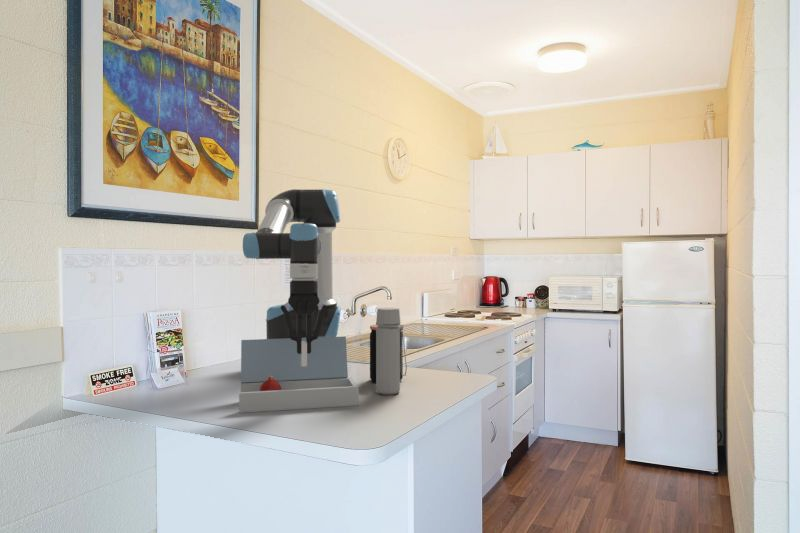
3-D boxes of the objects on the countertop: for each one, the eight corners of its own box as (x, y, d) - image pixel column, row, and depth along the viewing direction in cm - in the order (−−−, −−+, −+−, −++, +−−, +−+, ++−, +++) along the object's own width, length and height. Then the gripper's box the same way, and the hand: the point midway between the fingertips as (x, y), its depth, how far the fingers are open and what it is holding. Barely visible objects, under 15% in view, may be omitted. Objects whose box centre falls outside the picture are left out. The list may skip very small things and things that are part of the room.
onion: (258, 403, 153) (258, 374, 153) (279, 401, 155) (279, 372, 155) (261, 408, 148) (261, 378, 148) (283, 406, 150) (283, 377, 150)
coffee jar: (399, 385, 175) (399, 328, 175) (366, 383, 177) (366, 327, 177) (405, 378, 186) (405, 324, 186) (374, 376, 188) (374, 323, 188)
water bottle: (377, 396, 161) (377, 309, 161) (374, 390, 169) (374, 307, 168) (408, 395, 162) (408, 309, 162) (404, 388, 170) (404, 307, 170)
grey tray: (241, 401, 155) (240, 383, 155) (351, 394, 163) (351, 377, 163) (239, 412, 144) (239, 393, 144) (358, 405, 151) (358, 386, 151)
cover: (241, 385, 156) (241, 341, 160) (347, 379, 164) (345, 337, 168) (240, 384, 155) (241, 340, 159) (347, 379, 162) (345, 336, 166)
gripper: (280, 280, 148) (280, 369, 148) (329, 279, 151) (329, 366, 151) (279, 279, 155) (279, 364, 155) (326, 279, 158) (326, 362, 158)
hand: (303, 365), depth 153 cm, fingers closed
